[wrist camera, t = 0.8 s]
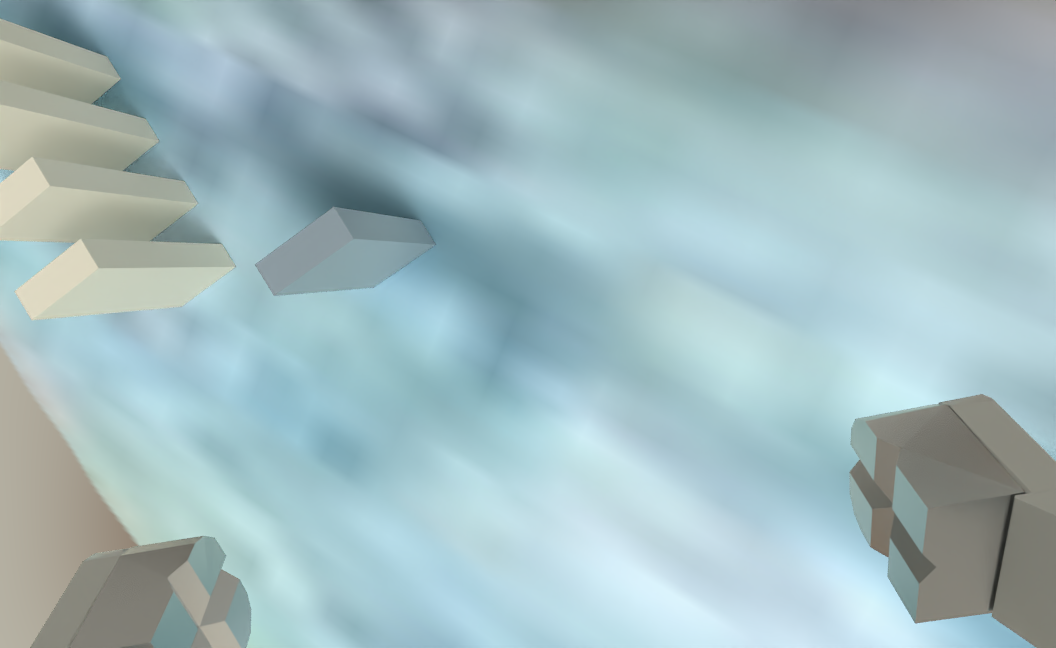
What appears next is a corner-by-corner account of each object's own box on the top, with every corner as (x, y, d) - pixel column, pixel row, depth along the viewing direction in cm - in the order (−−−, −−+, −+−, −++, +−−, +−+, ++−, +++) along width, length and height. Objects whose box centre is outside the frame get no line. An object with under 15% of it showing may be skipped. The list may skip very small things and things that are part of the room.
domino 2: (93, 161, 51) (-81, 131, 40) (145, 118, 50) (-18, 75, 38) (107, 183, 51) (-64, 160, 40) (159, 141, 50) (0, 104, 38)
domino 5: (359, 263, 48) (254, 264, 36) (420, 220, 47) (333, 206, 35) (373, 287, 48) (274, 295, 36) (435, 244, 47) (353, 238, 35)
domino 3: (131, 222, 51) (-33, 211, 39) (184, 181, 50) (32, 156, 38) (144, 244, 51) (-16, 239, 39) (198, 203, 50) (50, 185, 38)
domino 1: (56, 100, 51) (-128, 52, 40) (107, 56, 50) (-67, -6, 39) (69, 122, 51) (-111, 81, 40) (120, 79, 50) (-50, 23, 39)
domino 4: (168, 284, 51) (14, 291, 39) (221, 244, 50) (80, 238, 38) (181, 306, 51) (31, 320, 39) (235, 266, 50) (98, 268, 38)
